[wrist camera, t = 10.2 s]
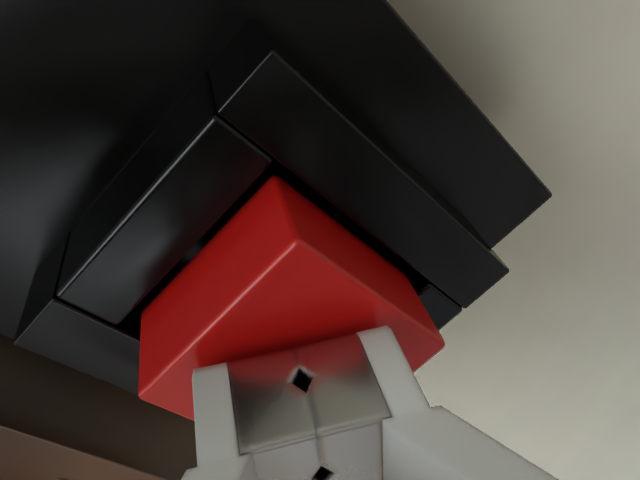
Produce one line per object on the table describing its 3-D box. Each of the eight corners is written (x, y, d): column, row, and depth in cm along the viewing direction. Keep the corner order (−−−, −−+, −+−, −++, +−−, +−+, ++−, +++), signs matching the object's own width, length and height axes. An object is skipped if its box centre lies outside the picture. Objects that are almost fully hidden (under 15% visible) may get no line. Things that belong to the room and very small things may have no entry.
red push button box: (484, 135, 16) (610, 243, 11) (249, 355, 18) (277, 513, 14) (-87, -511, 8) (-413, -990, 3) (-358, 41, 10) (-743, 176, 6)
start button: (406, 273, 11) (449, 346, 9) (283, 383, 12) (302, 467, 10) (273, 170, 9) (298, 239, 8) (139, 311, 10) (134, 400, 8)
